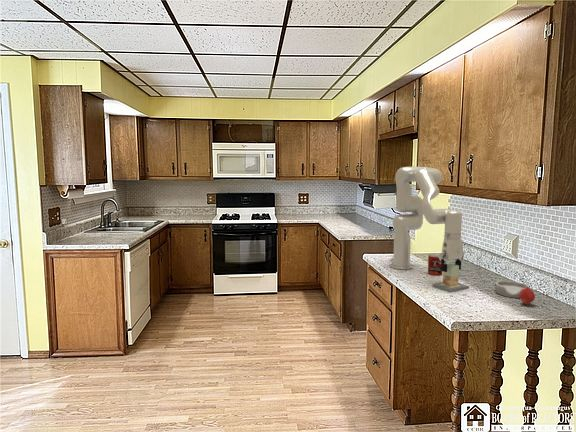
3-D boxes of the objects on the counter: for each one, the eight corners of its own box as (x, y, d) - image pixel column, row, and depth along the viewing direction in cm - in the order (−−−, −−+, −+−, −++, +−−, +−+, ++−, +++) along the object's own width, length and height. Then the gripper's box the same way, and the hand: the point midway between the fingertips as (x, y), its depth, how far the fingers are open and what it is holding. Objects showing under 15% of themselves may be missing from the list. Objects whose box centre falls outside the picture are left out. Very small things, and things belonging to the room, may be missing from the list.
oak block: (442, 284, 197) (443, 274, 197) (449, 282, 200) (450, 273, 199) (450, 286, 193) (451, 276, 192) (457, 285, 195) (458, 275, 195)
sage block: (443, 274, 197) (443, 264, 196) (450, 273, 199) (450, 263, 198) (451, 276, 192) (451, 266, 192) (458, 275, 195) (459, 265, 194)
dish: (534, 300, 178) (535, 289, 177) (501, 298, 180) (501, 287, 180) (521, 290, 192) (521, 280, 191) (490, 288, 194) (491, 278, 194)
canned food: (427, 274, 219) (427, 255, 218) (428, 271, 227) (429, 252, 225) (441, 276, 216) (442, 256, 215) (443, 272, 223) (443, 253, 222)
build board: (432, 286, 198) (432, 283, 198) (450, 282, 204) (450, 280, 204) (450, 292, 189) (450, 289, 188) (468, 288, 195) (468, 285, 194)
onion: (516, 301, 175) (517, 284, 174) (529, 302, 174) (531, 284, 174) (522, 306, 169) (523, 288, 168) (536, 306, 169) (538, 288, 168)
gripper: (446, 238, 186) (444, 274, 188) (471, 235, 194) (469, 269, 196) (433, 236, 193) (432, 270, 195) (458, 233, 201) (456, 266, 203)
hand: (451, 270), depth 195 cm, fingers open, 9 cm apart
